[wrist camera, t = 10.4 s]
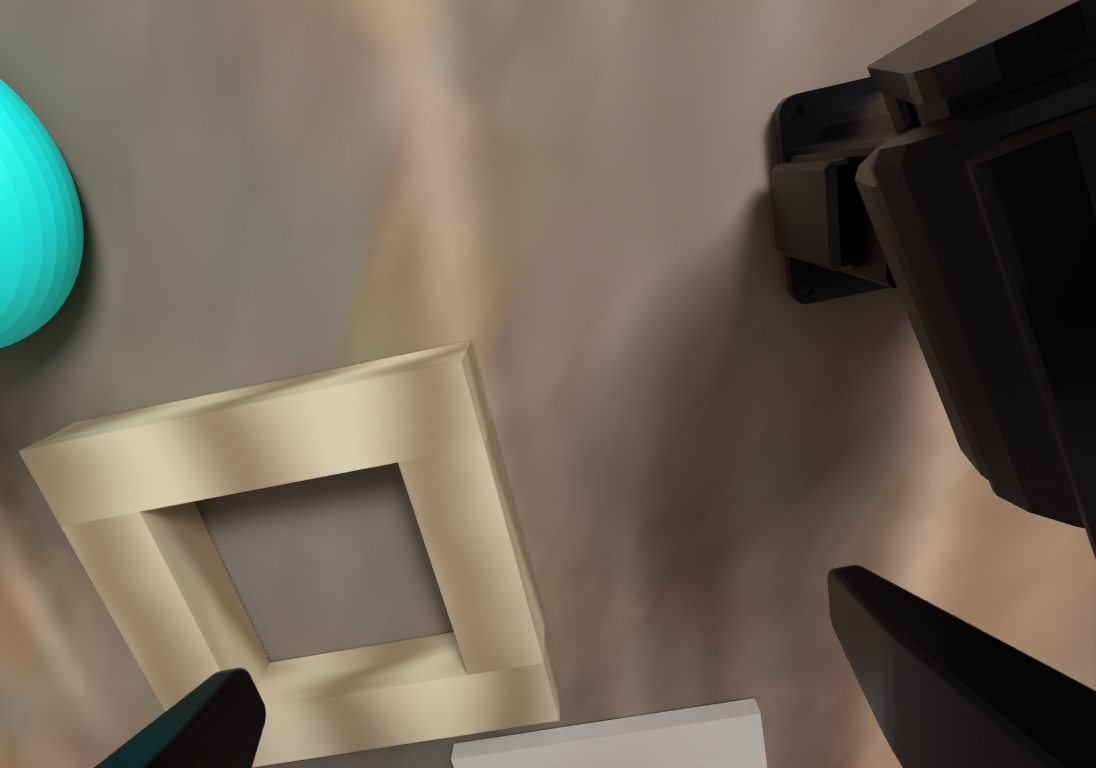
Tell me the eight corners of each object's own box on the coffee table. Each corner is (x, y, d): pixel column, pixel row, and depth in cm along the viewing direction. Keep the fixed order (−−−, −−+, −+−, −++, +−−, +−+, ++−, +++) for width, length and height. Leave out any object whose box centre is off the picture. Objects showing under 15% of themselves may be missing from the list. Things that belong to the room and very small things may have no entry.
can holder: (471, 340, 21) (461, 361, 18) (559, 670, 26) (559, 720, 23) (76, 421, 22) (18, 451, 19) (232, 722, 27) (201, 775, 24)
